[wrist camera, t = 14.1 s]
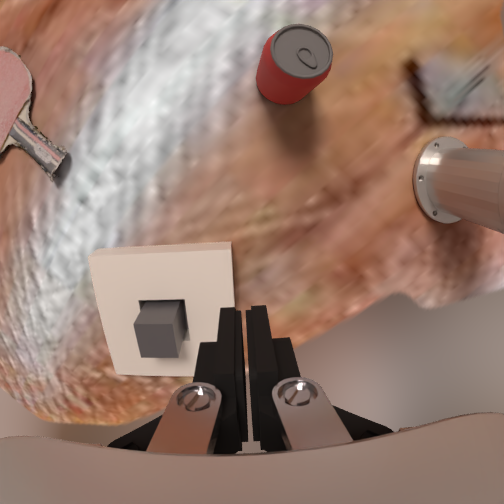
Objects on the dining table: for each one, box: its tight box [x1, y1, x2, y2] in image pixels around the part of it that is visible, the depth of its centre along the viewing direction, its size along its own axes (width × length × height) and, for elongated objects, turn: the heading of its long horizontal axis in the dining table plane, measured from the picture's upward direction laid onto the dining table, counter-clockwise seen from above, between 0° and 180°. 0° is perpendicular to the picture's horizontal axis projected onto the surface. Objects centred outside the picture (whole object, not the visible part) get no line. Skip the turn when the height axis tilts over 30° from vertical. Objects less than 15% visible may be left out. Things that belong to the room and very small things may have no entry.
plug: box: [133, 299, 186, 358], centre depth 38 cm, size 5×5×8 cm
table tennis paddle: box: [0, 46, 68, 181], centre depth 32 cm, size 18×29×3 cm, turn 33°
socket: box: [88, 242, 235, 376], centre depth 41 cm, size 18×18×4 cm
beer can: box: [256, 24, 333, 105], centre depth 29 cm, size 7×7×12 cm
